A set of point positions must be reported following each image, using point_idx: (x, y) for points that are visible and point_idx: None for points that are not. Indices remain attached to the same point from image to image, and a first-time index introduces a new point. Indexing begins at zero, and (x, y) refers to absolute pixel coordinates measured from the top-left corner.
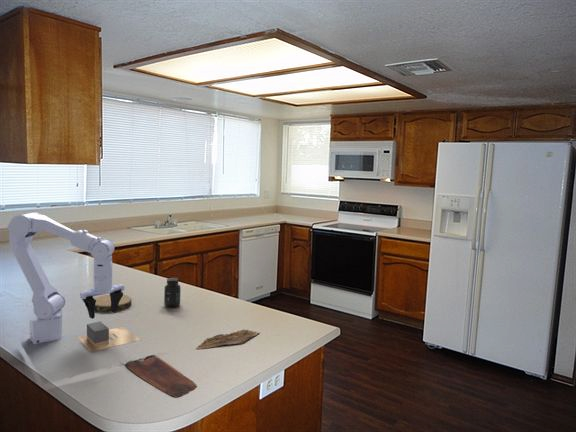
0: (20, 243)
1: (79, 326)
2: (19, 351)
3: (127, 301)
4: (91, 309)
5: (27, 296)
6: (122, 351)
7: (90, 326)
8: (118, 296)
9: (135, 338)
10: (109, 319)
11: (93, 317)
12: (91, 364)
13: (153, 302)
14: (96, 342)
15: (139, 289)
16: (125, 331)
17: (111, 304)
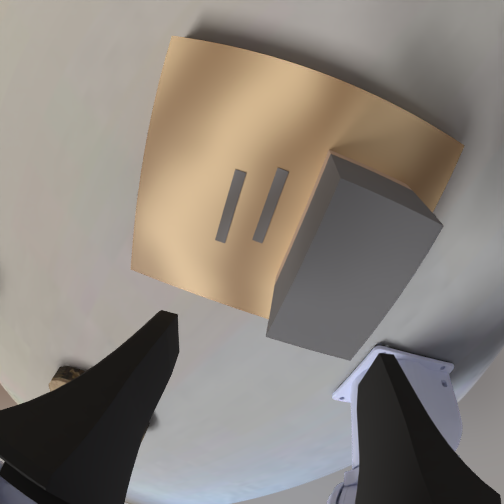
0: None
1: (242, 396)
2: (470, 374)
3: (60, 383)
4: (437, 429)
5: (219, 491)
6: (316, 36)
7: (374, 321)
8: (49, 447)
9: (175, 75)
10: None
11: (389, 359)
12: (497, 76)
13: (12, 334)
14: (403, 187)
15: (34, 392)
16: (154, 211)
17: (152, 406)
